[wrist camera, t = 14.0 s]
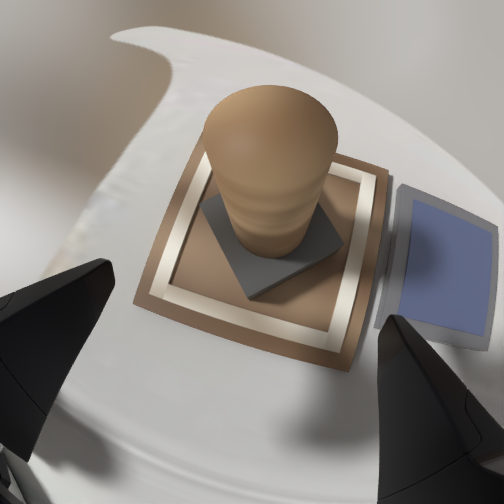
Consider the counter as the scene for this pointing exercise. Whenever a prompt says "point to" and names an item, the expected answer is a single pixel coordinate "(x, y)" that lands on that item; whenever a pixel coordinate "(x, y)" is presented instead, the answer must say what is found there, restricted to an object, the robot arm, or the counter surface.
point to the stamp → (270, 184)
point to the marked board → (284, 295)
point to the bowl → (15, 488)
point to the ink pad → (441, 271)
